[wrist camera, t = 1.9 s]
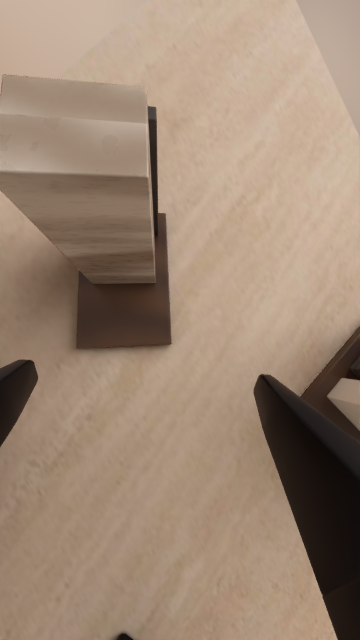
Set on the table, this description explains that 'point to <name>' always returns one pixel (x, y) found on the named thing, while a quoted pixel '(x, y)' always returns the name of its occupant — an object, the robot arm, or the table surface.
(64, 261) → the table surface
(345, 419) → the grey book shelf
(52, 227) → the white book shelf
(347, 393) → the white book
